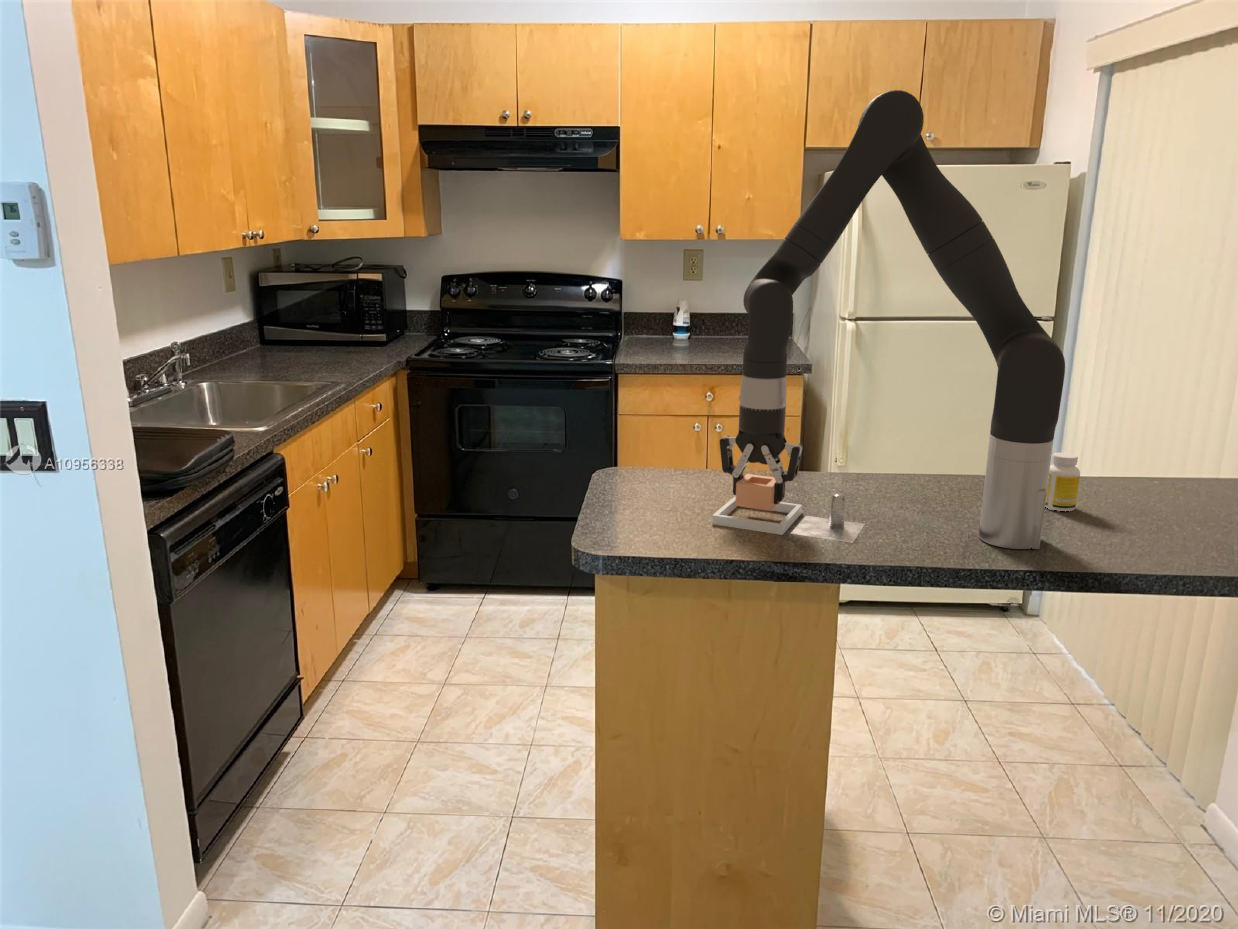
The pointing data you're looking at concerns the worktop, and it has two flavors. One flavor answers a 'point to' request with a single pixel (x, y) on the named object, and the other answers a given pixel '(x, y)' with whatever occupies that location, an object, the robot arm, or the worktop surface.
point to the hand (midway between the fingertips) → (758, 500)
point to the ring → (755, 492)
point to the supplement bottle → (1063, 482)
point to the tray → (757, 525)
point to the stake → (830, 523)
